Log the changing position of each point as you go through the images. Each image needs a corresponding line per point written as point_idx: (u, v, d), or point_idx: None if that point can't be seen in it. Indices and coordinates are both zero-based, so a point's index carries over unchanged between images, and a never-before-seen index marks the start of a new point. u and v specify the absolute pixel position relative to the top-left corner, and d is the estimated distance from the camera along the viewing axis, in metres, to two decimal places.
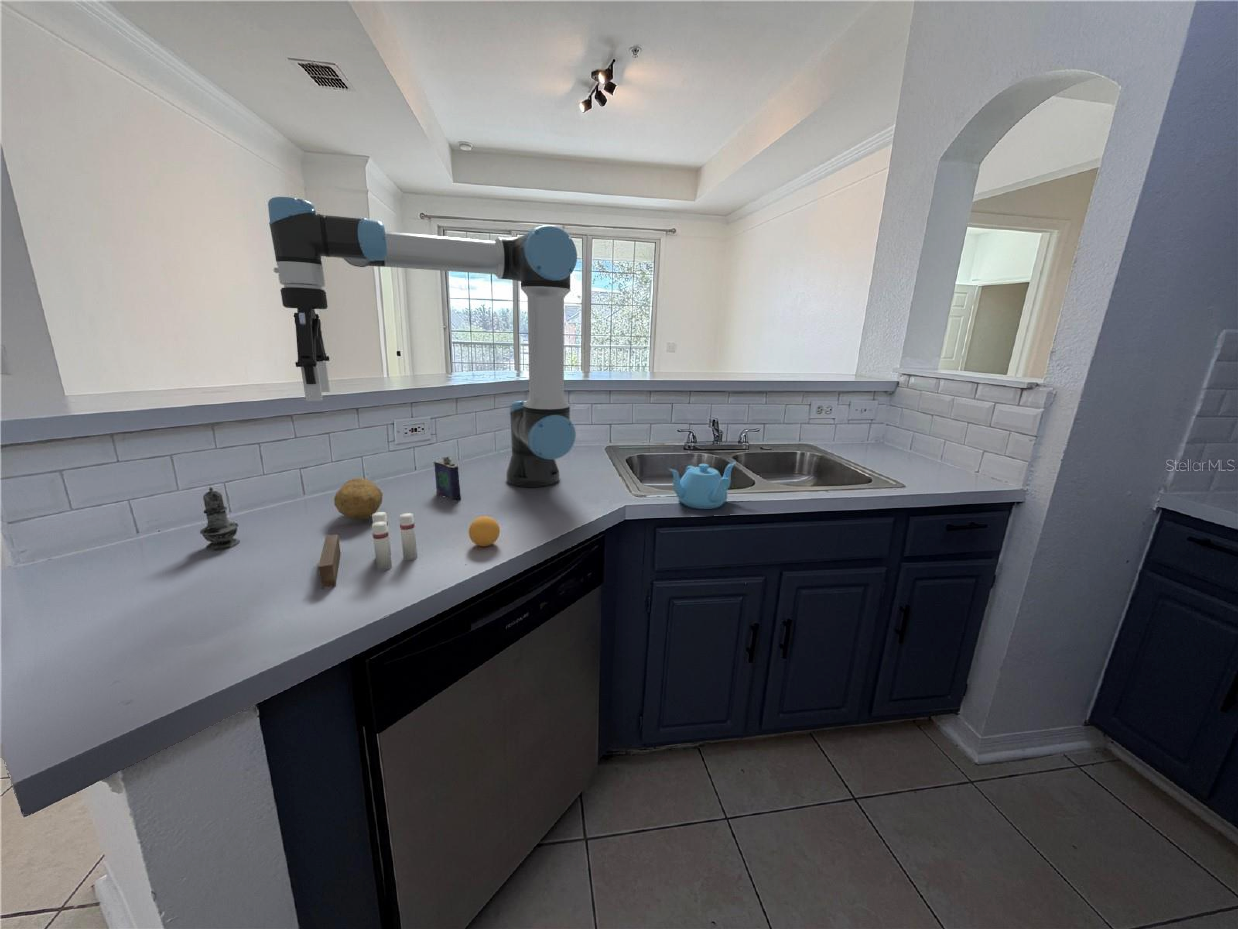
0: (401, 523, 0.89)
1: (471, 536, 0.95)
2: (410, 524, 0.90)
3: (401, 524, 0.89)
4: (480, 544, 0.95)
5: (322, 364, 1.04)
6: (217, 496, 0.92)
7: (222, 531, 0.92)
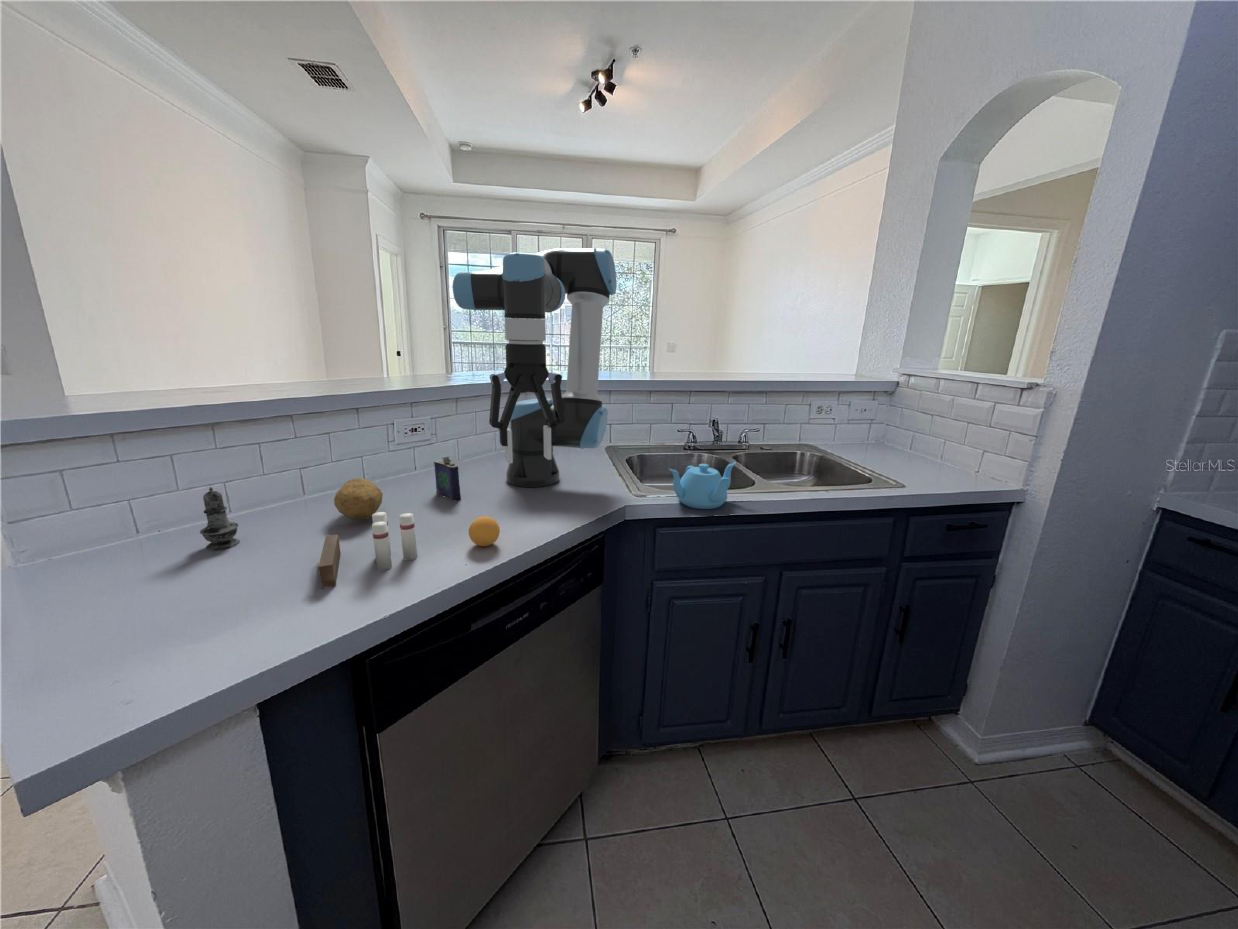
0: (401, 523, 0.89)
1: (471, 536, 0.95)
2: (410, 524, 0.90)
3: (401, 524, 0.89)
4: (480, 544, 0.95)
5: (546, 430, 0.97)
6: (217, 496, 0.92)
7: (222, 531, 0.92)
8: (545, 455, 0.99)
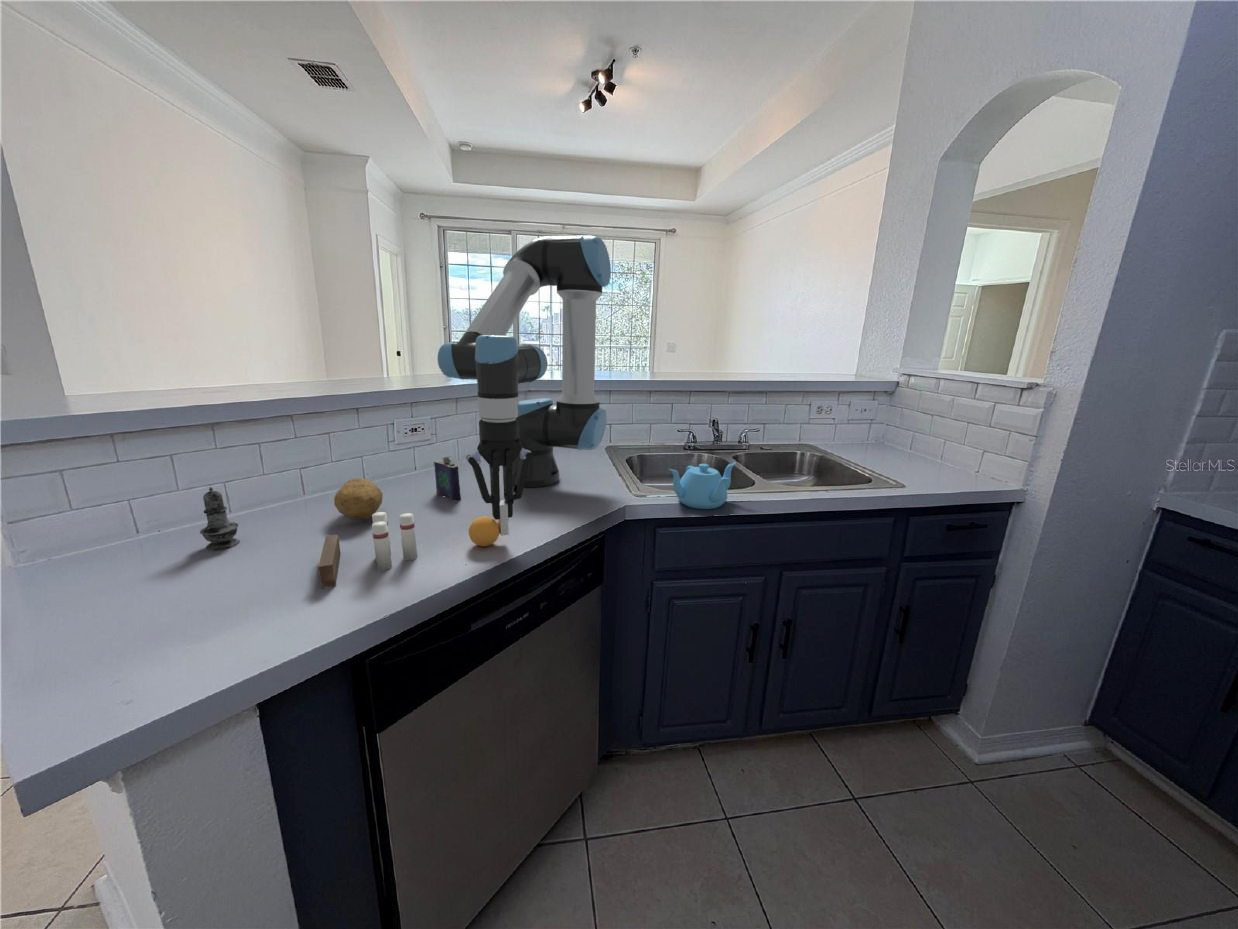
0: (401, 523, 0.89)
1: (471, 536, 0.95)
2: (410, 524, 0.90)
3: (401, 524, 0.89)
4: (480, 544, 0.95)
5: None
6: (217, 496, 0.92)
7: (222, 531, 0.92)
8: None
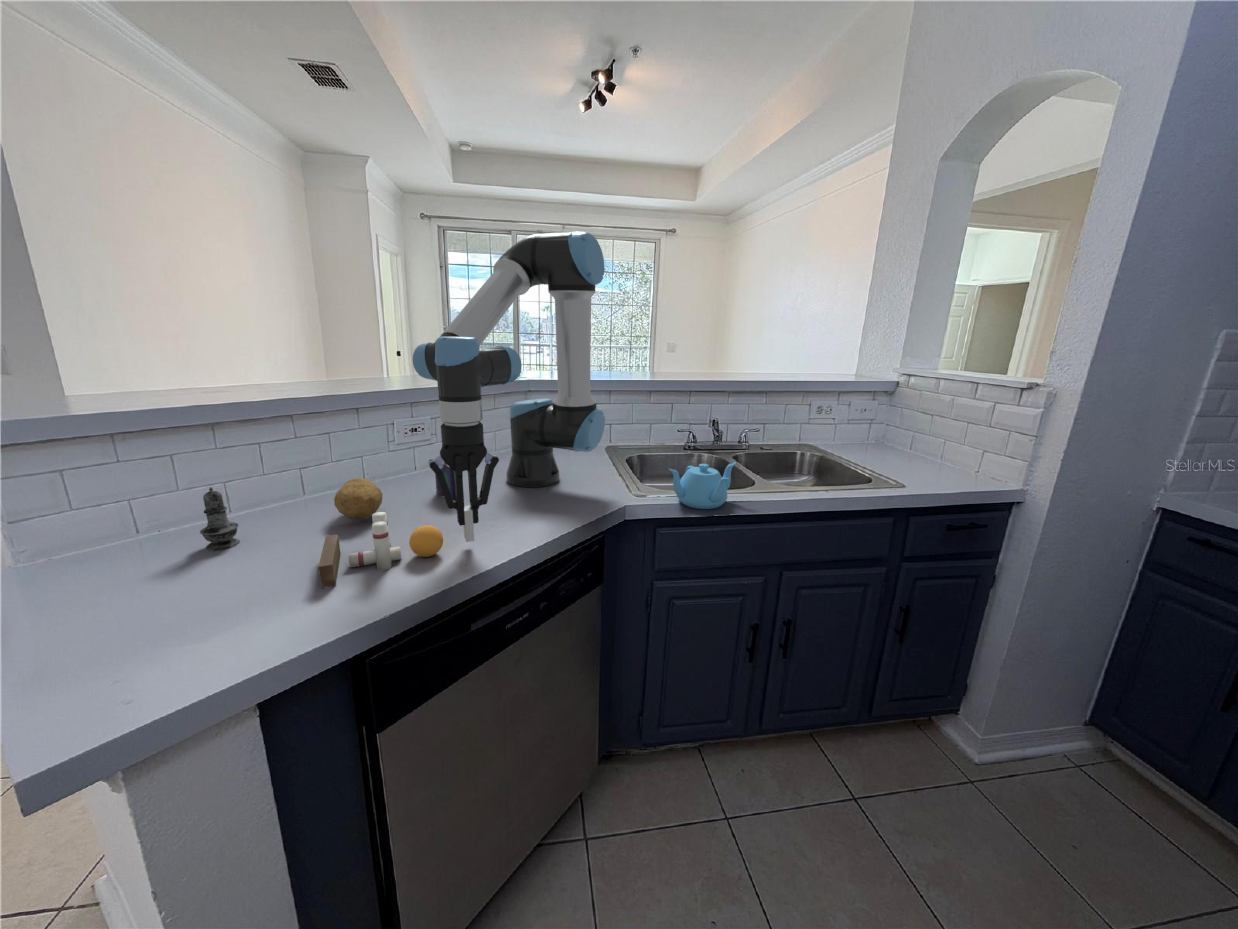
0: (357, 565, 0.88)
1: (441, 538, 0.92)
2: (358, 558, 0.87)
3: (358, 565, 0.88)
4: (432, 535, 0.90)
5: None
6: (217, 496, 0.92)
7: (222, 531, 0.92)
8: None
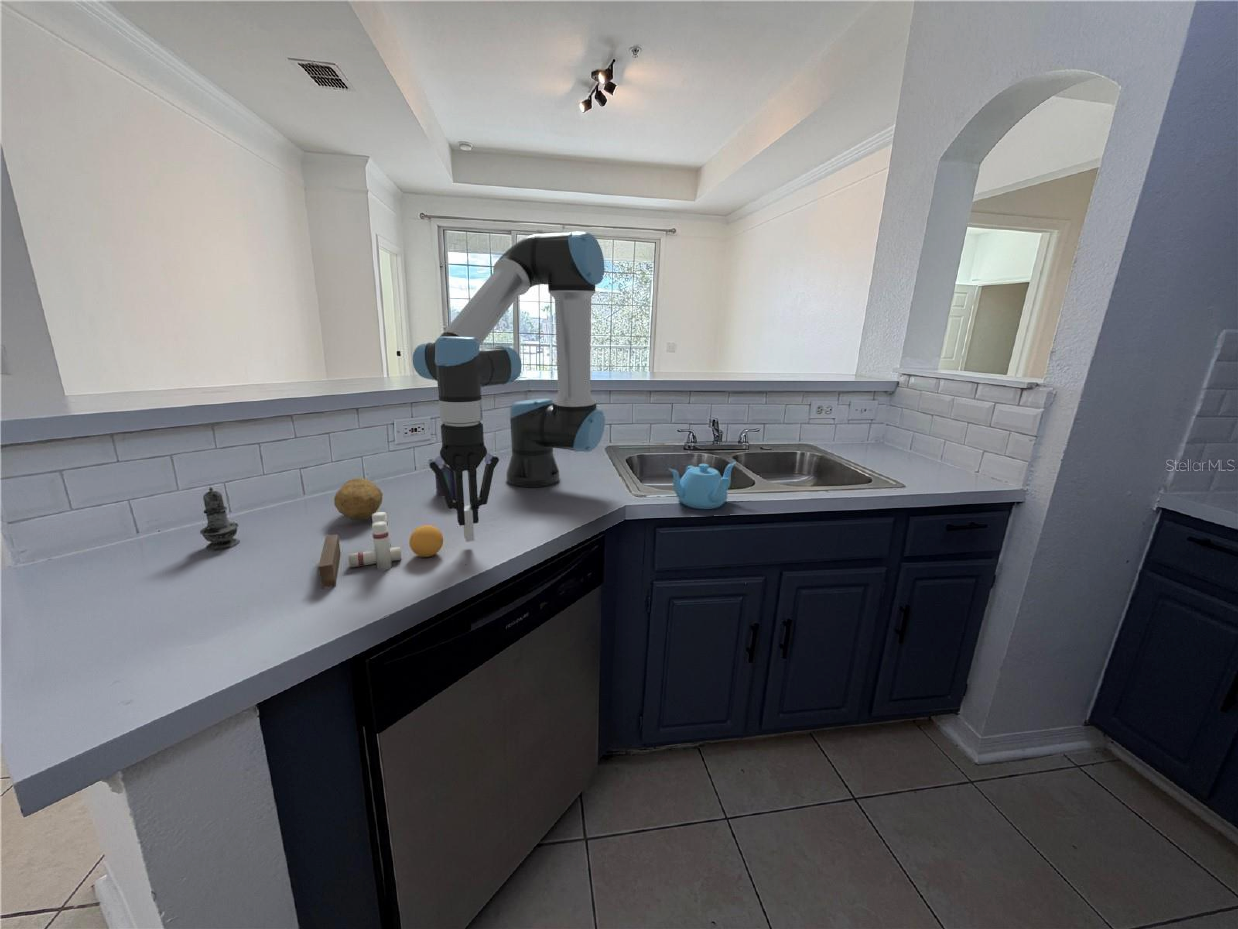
0: None
1: (441, 538, 0.92)
2: (358, 559, 0.87)
3: None
4: (432, 535, 0.90)
5: None
6: (217, 496, 0.92)
7: (222, 531, 0.92)
8: None
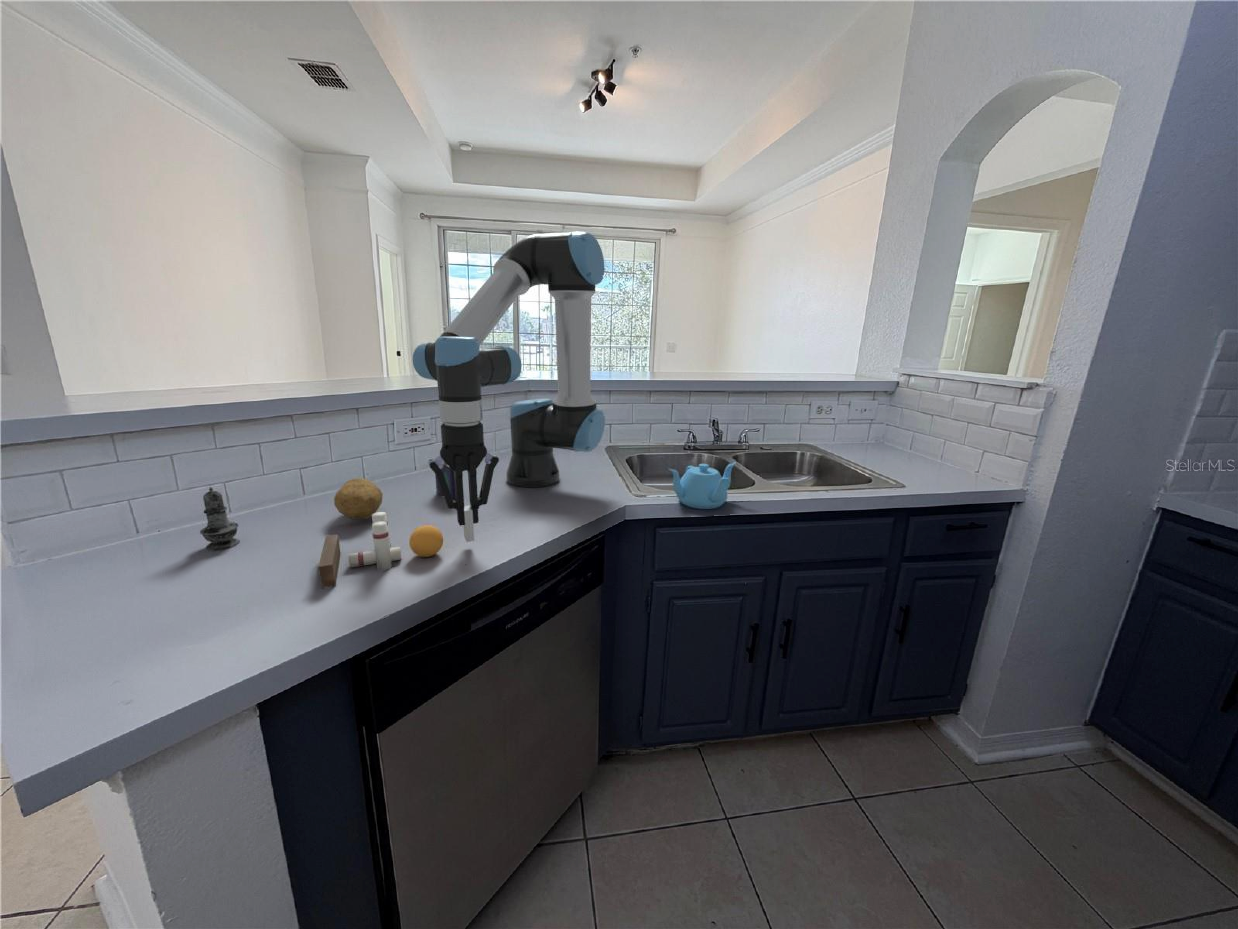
0: None
1: (441, 538, 0.92)
2: (358, 559, 0.87)
3: None
4: (432, 535, 0.90)
5: None
6: (217, 496, 0.92)
7: (222, 531, 0.92)
8: None
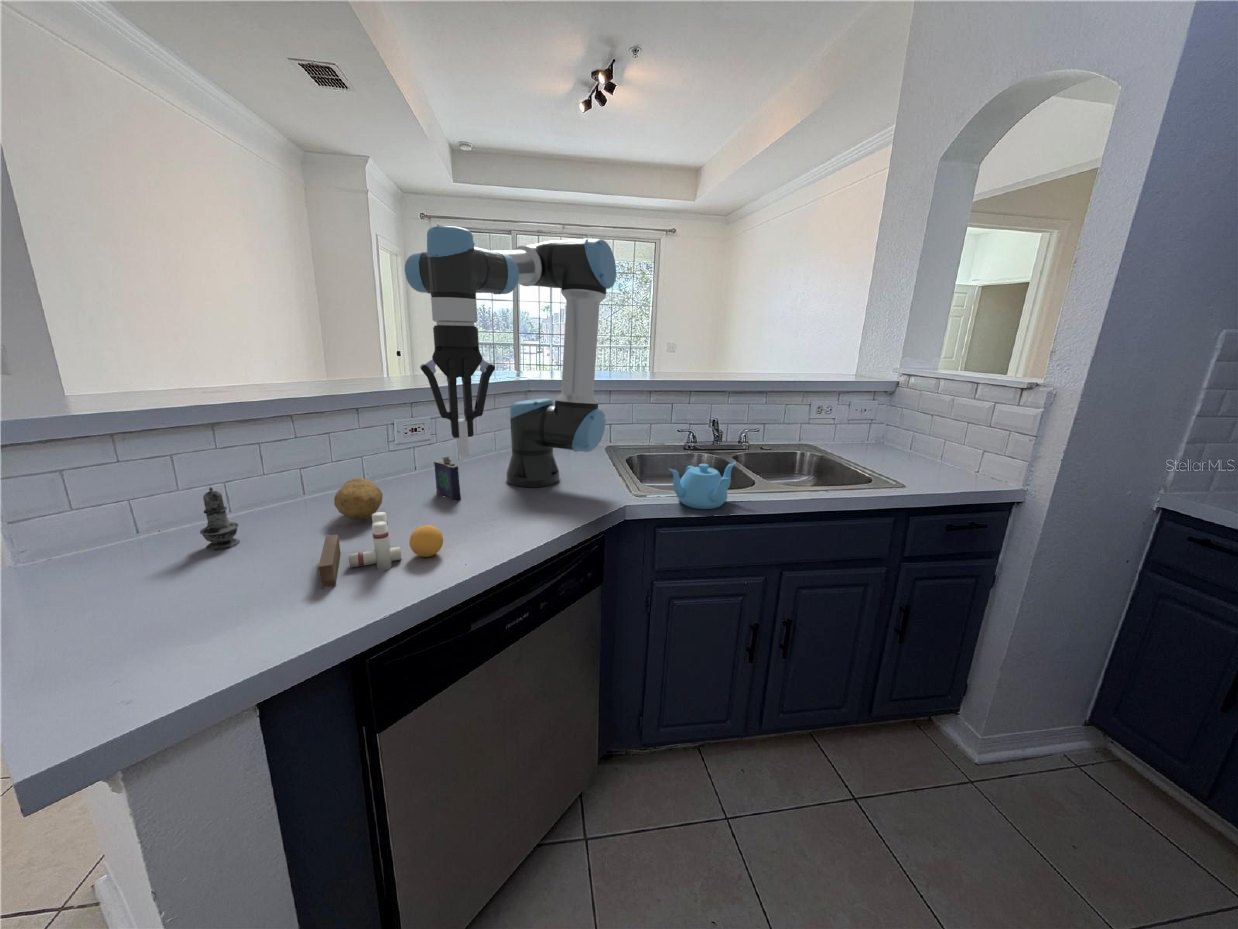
0: None
1: (441, 538, 0.92)
2: (358, 559, 0.87)
3: None
4: (432, 535, 0.90)
5: None
6: (217, 496, 0.92)
7: (222, 531, 0.92)
8: None
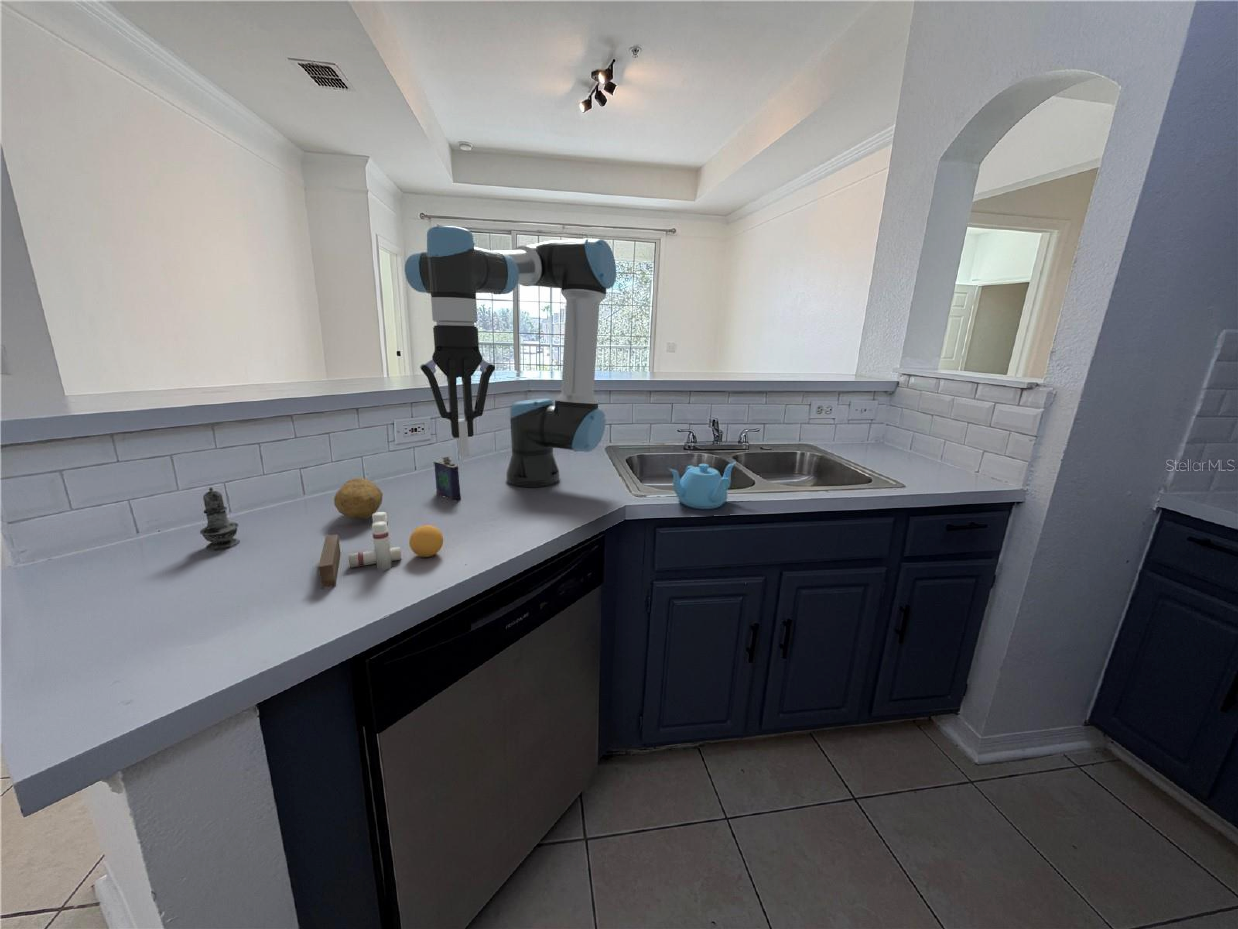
0: None
1: (441, 538, 0.92)
2: (358, 559, 0.87)
3: None
4: (432, 535, 0.90)
5: None
6: (217, 496, 0.92)
7: (222, 531, 0.92)
8: None
